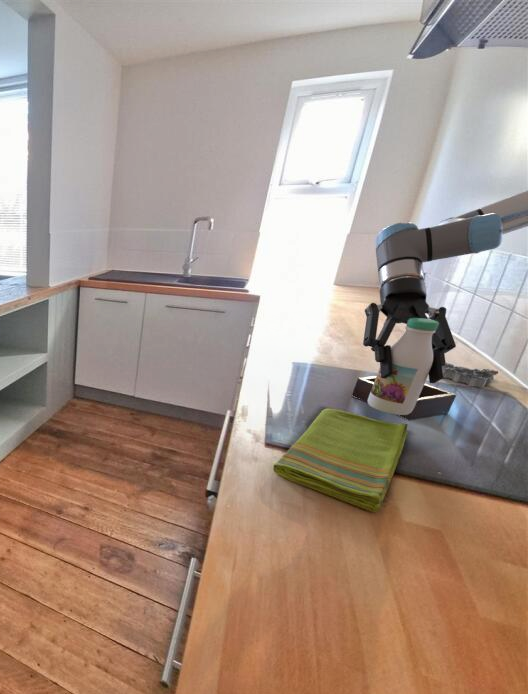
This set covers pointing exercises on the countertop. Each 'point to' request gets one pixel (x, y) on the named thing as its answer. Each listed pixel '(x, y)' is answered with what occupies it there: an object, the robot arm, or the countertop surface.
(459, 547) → the countertop surface
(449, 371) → the egg carton
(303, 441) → the dish towel
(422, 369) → the milk bottle
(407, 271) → the robot arm
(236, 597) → the countertop surface
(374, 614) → the countertop surface
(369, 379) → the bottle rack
